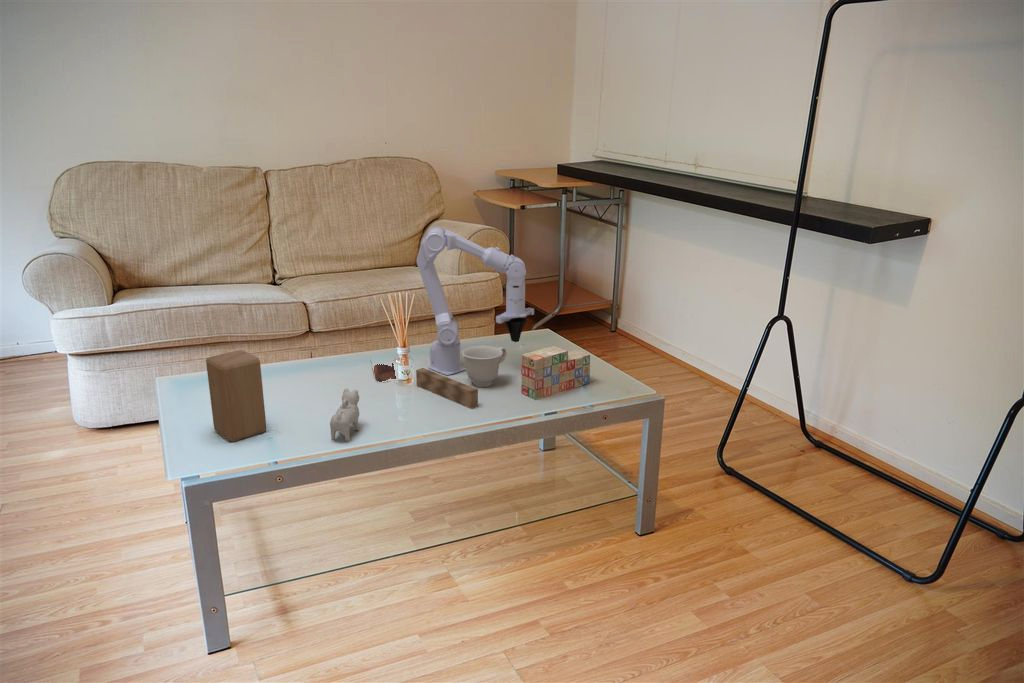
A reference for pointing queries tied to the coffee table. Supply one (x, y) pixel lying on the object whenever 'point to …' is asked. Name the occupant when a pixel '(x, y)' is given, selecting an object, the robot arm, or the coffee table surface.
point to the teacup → (483, 363)
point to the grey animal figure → (346, 415)
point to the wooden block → (236, 394)
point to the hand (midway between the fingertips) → (515, 341)
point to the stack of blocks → (553, 371)
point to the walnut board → (447, 388)
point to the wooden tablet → (384, 372)
